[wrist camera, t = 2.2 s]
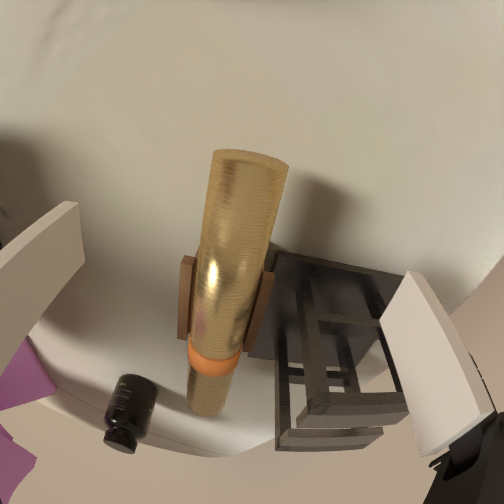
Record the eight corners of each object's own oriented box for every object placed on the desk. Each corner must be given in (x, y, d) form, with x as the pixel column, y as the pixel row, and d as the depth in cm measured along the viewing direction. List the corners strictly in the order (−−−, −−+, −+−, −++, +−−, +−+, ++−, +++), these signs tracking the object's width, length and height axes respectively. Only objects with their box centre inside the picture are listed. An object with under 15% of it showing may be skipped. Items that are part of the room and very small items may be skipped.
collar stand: (248, 349, 32) (240, 455, 21) (278, 250, 25) (286, 382, 14) (353, 361, 33) (372, 453, 22) (407, 276, 26) (462, 381, 14)
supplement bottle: (166, 394, 40) (151, 459, 29) (136, 396, 41) (119, 454, 31) (141, 370, 36) (118, 440, 26) (111, 373, 38) (87, 435, 28)
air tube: (226, 387, 28) (224, 419, 25) (188, 380, 28) (182, 413, 24) (286, 158, 16) (295, 176, 13) (217, 145, 16) (205, 159, 12)
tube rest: (191, 295, 28) (177, 338, 23) (198, 224, 24) (180, 263, 19) (254, 307, 29) (251, 352, 23) (272, 239, 24) (274, 281, 19)
